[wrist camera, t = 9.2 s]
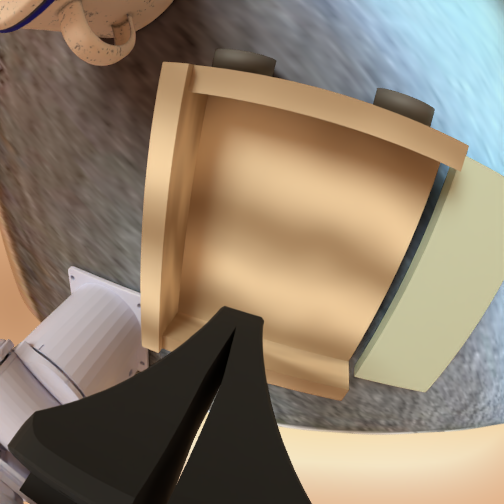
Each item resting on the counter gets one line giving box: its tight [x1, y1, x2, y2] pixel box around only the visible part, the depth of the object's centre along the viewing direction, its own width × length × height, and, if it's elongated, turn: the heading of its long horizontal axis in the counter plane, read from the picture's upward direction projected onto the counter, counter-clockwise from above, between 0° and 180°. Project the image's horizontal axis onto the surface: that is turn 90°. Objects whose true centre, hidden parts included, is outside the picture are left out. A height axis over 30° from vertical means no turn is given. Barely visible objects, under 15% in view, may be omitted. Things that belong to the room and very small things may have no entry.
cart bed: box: [141, 49, 469, 401], centre depth 16 cm, size 18×13×5 cm
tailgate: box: [354, 156, 504, 392], centre depth 16 cm, size 15×2×6 cm
